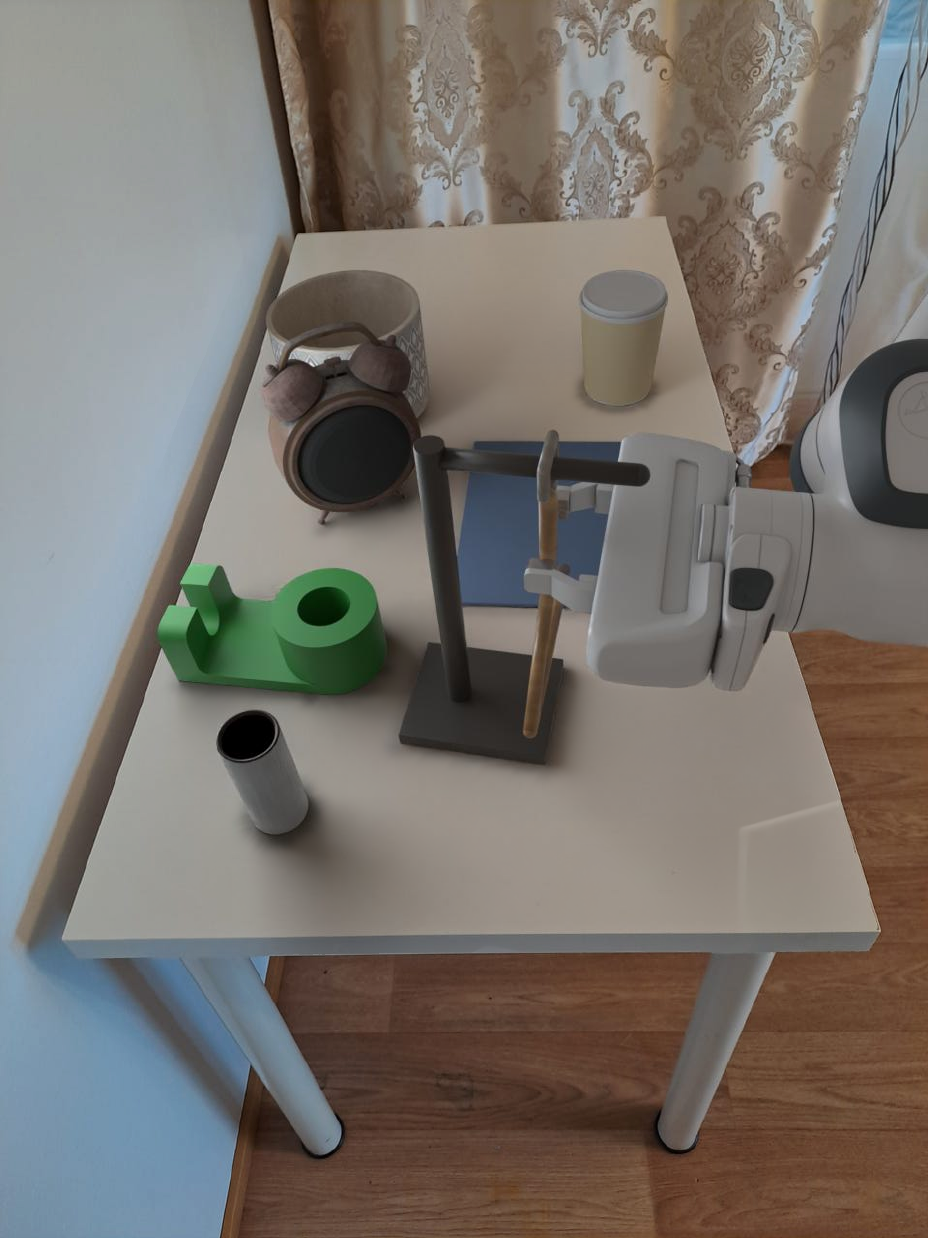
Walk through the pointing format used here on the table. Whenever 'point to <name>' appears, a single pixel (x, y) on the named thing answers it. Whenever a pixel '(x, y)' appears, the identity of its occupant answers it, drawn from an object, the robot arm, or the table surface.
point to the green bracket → (277, 633)
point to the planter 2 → (353, 299)
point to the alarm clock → (342, 422)
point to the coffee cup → (621, 334)
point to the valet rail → (452, 672)
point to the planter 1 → (263, 770)
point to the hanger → (547, 604)
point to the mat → (522, 528)
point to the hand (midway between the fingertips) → (535, 536)
